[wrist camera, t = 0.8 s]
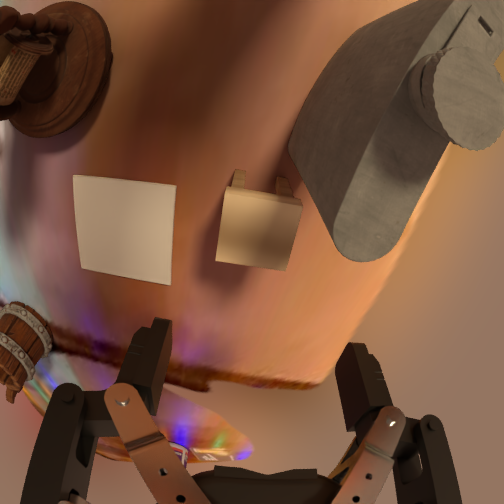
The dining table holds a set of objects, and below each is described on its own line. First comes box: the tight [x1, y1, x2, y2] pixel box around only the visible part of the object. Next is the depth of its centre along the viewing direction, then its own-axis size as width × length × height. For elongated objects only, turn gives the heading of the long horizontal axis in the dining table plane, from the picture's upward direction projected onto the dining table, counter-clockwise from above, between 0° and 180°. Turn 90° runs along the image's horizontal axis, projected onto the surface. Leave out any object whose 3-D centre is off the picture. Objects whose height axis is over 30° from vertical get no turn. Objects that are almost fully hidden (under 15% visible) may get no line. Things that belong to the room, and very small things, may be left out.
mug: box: [0, 301, 53, 403], centre depth 35 cm, size 12×14×15 cm
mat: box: [73, 175, 177, 285], centre depth 31 cm, size 12×12×1 cm
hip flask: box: [288, 0, 504, 262], centre depth 15 cm, size 16×4×20 cm, turn 152°
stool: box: [215, 169, 303, 271], centre depth 26 cm, size 6×6×8 cm
